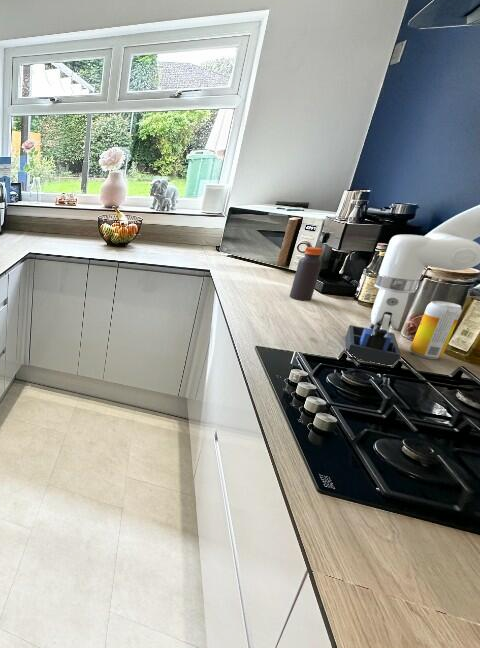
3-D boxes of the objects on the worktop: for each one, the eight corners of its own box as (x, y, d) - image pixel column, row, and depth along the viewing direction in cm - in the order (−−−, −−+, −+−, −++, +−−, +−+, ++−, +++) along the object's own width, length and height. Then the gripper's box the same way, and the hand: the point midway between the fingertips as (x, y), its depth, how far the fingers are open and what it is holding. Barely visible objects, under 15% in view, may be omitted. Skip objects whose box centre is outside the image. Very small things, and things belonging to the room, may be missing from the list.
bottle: (285, 296, 159) (298, 247, 152) (297, 294, 161) (311, 246, 154) (302, 301, 153) (317, 250, 146) (315, 300, 155) (330, 249, 148)
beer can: (431, 351, 112) (452, 301, 107) (447, 361, 107) (470, 309, 102) (403, 348, 114) (423, 299, 109) (417, 358, 108) (439, 306, 103)
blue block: (383, 349, 109) (389, 332, 108) (384, 355, 106) (391, 338, 104) (358, 344, 112) (364, 327, 111) (359, 349, 109) (365, 333, 107)
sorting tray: (389, 345, 116) (394, 333, 115) (395, 368, 103) (400, 354, 102) (345, 336, 122) (349, 324, 121) (346, 357, 109) (350, 344, 108)
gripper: (421, 293, 94) (394, 362, 101) (412, 279, 106) (389, 340, 112) (378, 287, 99) (354, 353, 105) (374, 274, 111) (353, 333, 117)
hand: (372, 346), depth 109 cm, fingers closed on blue block, 5 cm apart
